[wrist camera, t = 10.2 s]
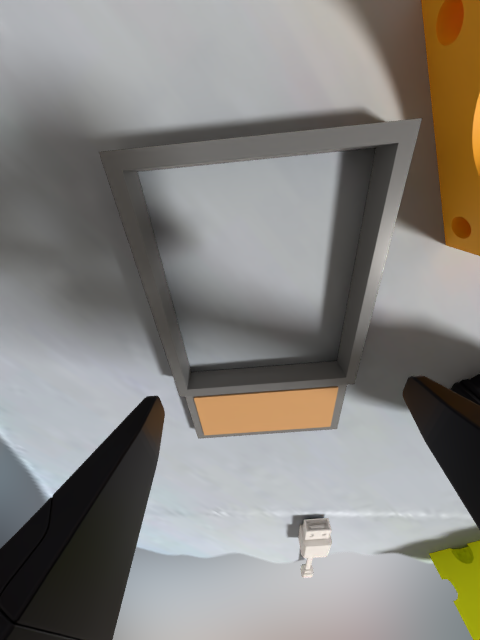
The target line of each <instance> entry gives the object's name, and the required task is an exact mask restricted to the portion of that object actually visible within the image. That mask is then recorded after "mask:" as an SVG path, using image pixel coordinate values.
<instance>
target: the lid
mask: <svg viewBox="0 0 480 640" xmlns="http://www.w3.org/2000/svg"><path fill="white" fill-rule="evenodd" d="M346 387H347V384H346V385H333V386H320V387H306V388H293V389H279V390H266V391H252V392H239V393H225V394H212V395H198V396H185V398H186V401H187V404H188V408H189V411H190V414H191V417H192V420H193V424H194V427H195V430H196V433H197V436H198V438H213V437H227V436H242V435H256V434H271V433H285V432H300V431H314V430H329V429H337V426H338V422H339V417H340V413H341V409H342V404H343V400H344V396H345V391H346Z"/></svg>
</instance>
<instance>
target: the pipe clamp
mask: <svg viewBox="0 0 480 640" xmlns="http://www.w3.org/2000/svg"><path fill="white" fill-rule="evenodd" d="M421 3H422V13H423V23H424V33H425V43H426V53H427V63H428V73H429V83H430V93H431V103H432V113H433V123H434V133H435V143H436V153H437V163H438V173H439V183H440V193H441V202H442V212H443V222H444V232H445V242H446V245H447V246H450V247H453V248H456V249H460V250H463V251H466V252H469V253H472V254H475V255H479V256H480V0H421Z"/></svg>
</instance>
